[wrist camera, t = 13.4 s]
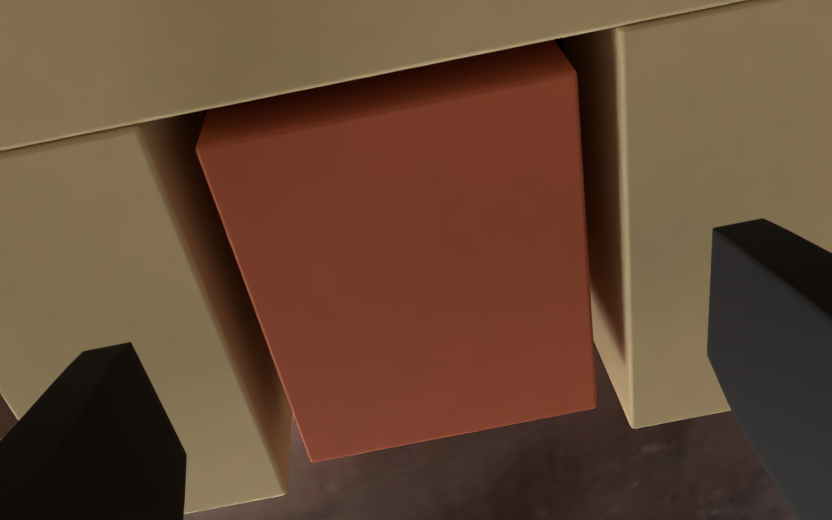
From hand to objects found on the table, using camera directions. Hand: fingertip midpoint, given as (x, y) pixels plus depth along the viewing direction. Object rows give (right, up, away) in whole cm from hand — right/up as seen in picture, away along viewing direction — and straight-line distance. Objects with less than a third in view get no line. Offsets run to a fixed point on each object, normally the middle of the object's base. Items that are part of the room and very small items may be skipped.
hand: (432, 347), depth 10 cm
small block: (0, +2, +3) cm, 4 cm away
